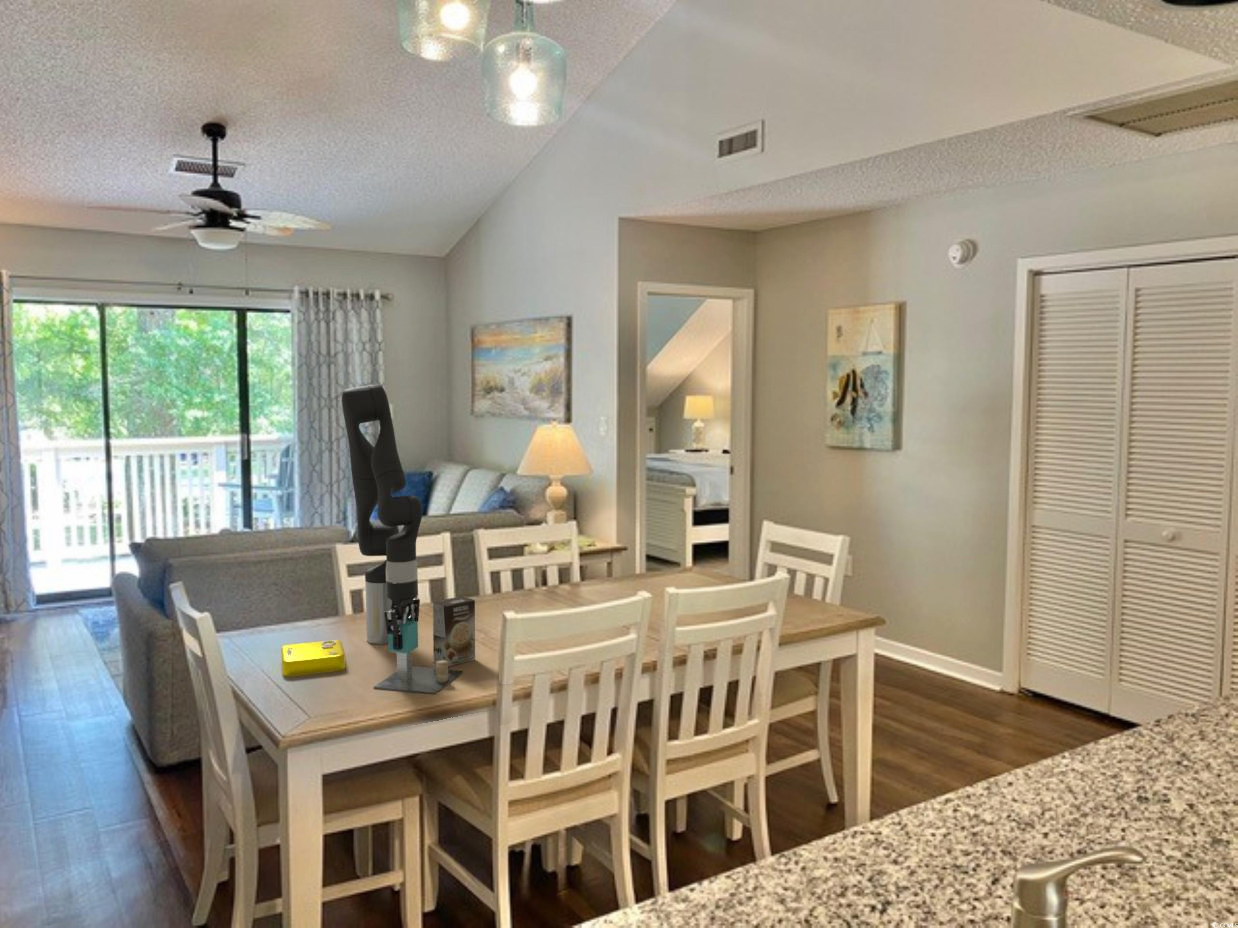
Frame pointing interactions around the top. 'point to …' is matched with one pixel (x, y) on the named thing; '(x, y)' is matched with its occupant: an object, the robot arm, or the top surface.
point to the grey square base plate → (415, 677)
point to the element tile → (312, 658)
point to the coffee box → (454, 630)
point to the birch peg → (441, 671)
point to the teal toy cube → (406, 637)
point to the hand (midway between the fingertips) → (403, 645)
